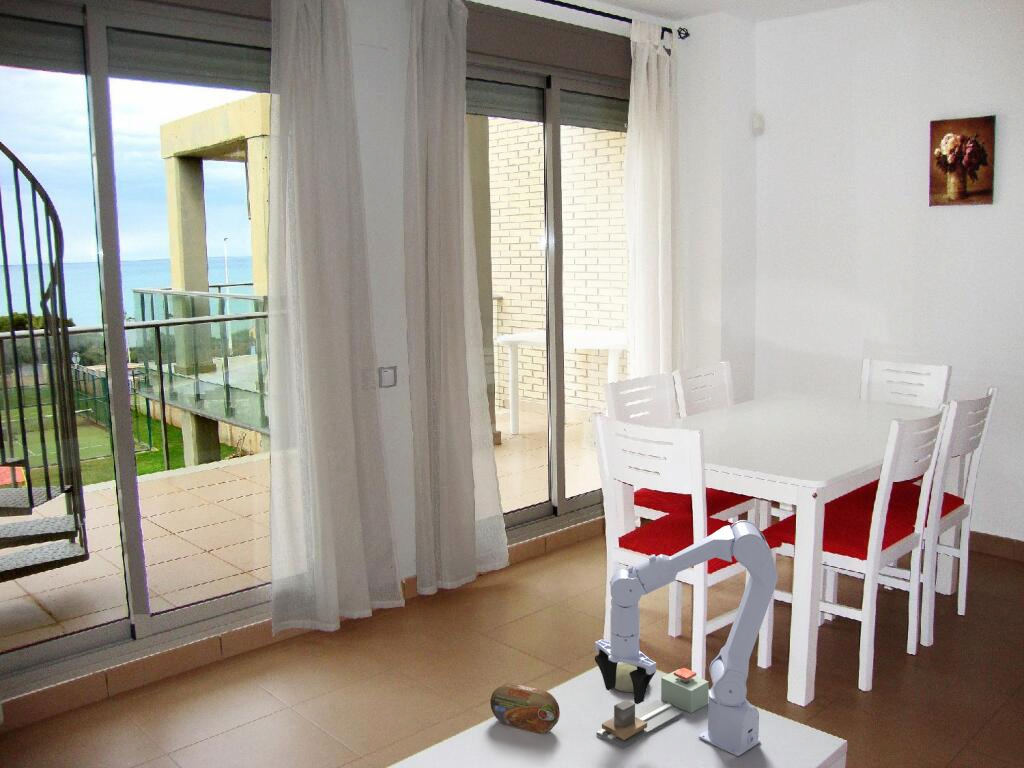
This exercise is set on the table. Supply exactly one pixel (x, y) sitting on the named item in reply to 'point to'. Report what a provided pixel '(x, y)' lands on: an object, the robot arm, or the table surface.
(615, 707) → the carriage
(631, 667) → the sea urchin shell
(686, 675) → the button
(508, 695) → the tin
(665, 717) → the track
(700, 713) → the table surface
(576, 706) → the table surface
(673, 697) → the pale green block
